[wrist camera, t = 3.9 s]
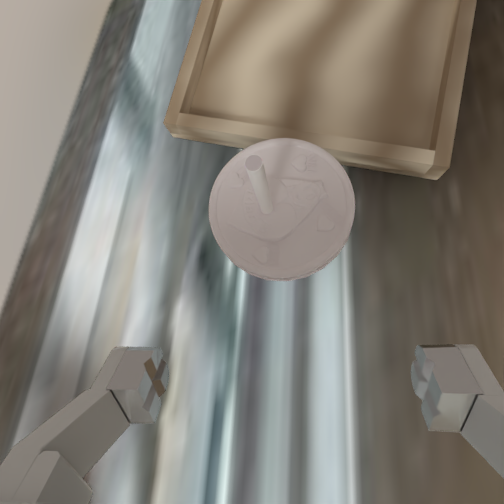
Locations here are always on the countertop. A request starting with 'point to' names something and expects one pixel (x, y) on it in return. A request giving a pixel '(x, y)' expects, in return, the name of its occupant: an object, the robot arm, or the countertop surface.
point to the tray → (328, 78)
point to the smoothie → (282, 209)
